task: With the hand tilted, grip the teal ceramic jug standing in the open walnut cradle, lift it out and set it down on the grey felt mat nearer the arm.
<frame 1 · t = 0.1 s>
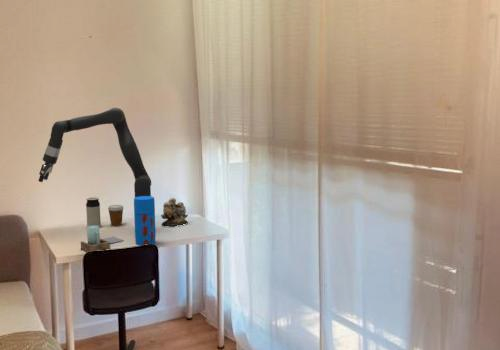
hand: (42, 180, 277), 31 cm above the table, tool tilted 20°, fingers open, 8 cm apart
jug: (94, 238, 250), in the cradle
mat: (109, 241, 265), on the table
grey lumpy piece: (174, 224, 303), on the table
thermos: (145, 243, 262), on the table
disposable coffee cup: (116, 225, 302), on the table
cradle: (94, 248, 251), on the table
travel mug: (94, 227, 297), on the table
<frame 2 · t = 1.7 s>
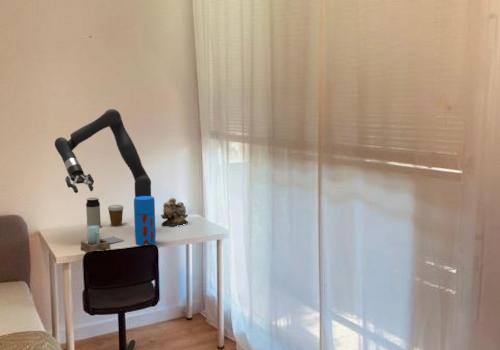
hand: (84, 191, 258), 29 cm above the table, tool tilted 45°, fingers open, 8 cm apart
nothing on the table moved.
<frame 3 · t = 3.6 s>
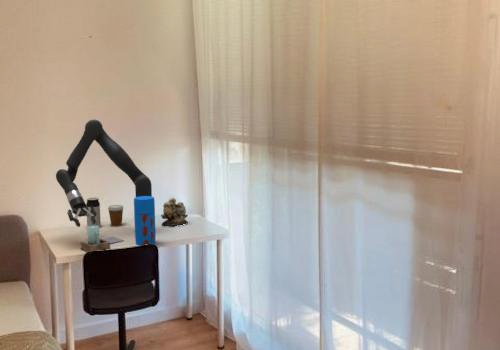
hand: (87, 224, 254), 12 cm above the table, tool tilted 45°, fingers open, 8 cm apart
nothing on the table moved.
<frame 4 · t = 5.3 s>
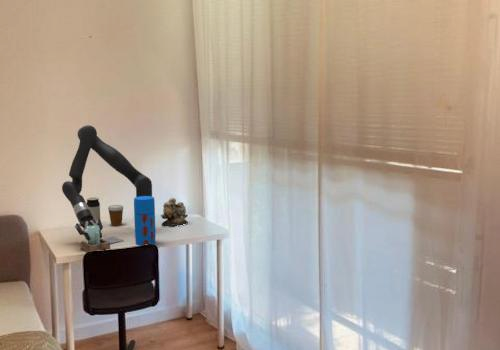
hand: (95, 238, 249), 6 cm above the table, tool tilted 45°, fingers closed on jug, 6 cm apart
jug: (94, 238, 250), in the cradle, touching gripper
everything else where it was.
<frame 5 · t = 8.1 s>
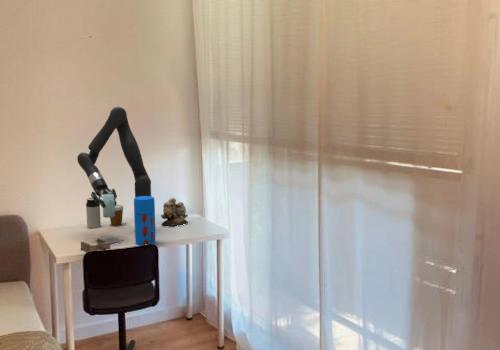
hand: (110, 206, 261), 20 cm above the table, tool tilted 45°, fingers closed on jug, 6 cm apart
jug: (109, 205, 261), point 20 cm above the table, touching gripper
everything else where it was.
when the fingers open (8 cm above the table, at t = 11.1 s): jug drops 1 cm, resting on mat.
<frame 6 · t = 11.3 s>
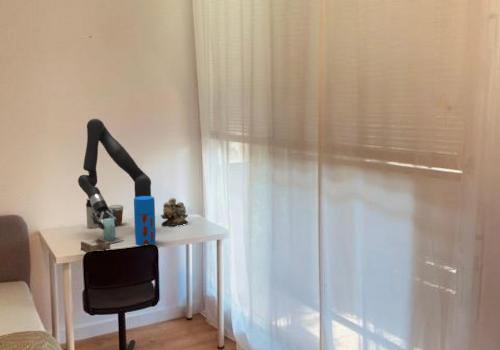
hand: (110, 227, 263), 8 cm above the table, tool tilted 45°, fingers open, 8 cm apart
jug: (110, 230, 264), on the mat, point 7 cm above the table
everything else where it was.
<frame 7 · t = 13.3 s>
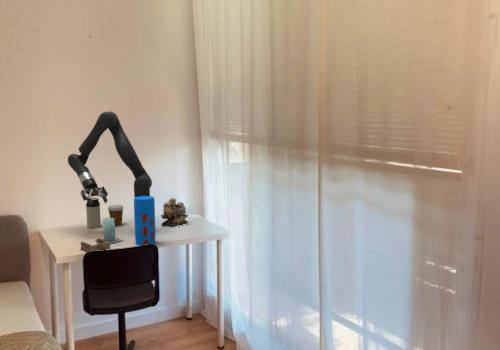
hand: (99, 203, 271), 19 cm above the table, tool tilted 45°, fingers open, 8 cm apart
nothing on the table moved.
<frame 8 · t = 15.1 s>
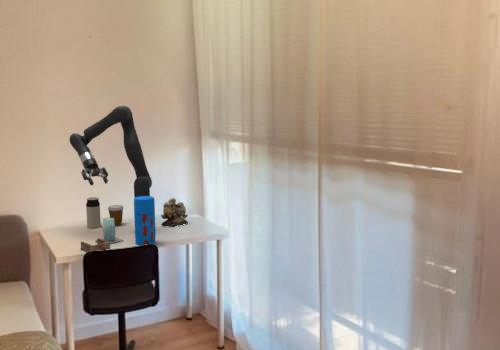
hand: (99, 183, 271), 31 cm above the table, tool tilted 45°, fingers open, 8 cm apart
nothing on the table moved.
at the end: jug inside the target area on the mat (0.0 cm from its centre), point 6.6 cm above the mat's base; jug tilted 0°; the gripper is holding nothing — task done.
